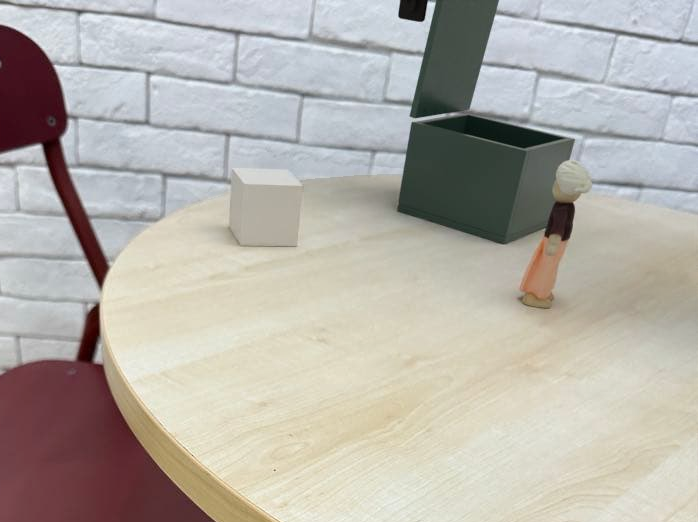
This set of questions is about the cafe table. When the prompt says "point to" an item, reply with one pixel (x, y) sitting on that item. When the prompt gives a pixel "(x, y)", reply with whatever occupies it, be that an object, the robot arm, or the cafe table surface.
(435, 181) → the bin
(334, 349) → the cafe table surface
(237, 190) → the light grey cube
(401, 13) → the robot arm
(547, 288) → the grandmother figurine
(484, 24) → the bin lid
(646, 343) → the cafe table surface
